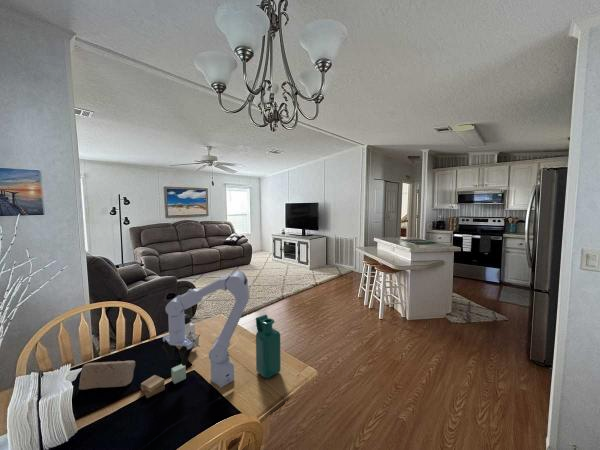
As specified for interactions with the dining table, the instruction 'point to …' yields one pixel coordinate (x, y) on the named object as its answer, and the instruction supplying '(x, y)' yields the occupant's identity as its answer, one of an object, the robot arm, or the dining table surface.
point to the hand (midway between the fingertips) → (178, 361)
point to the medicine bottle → (189, 325)
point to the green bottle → (267, 347)
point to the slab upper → (152, 383)
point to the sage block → (178, 373)
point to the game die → (193, 339)
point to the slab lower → (153, 391)
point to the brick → (106, 374)
